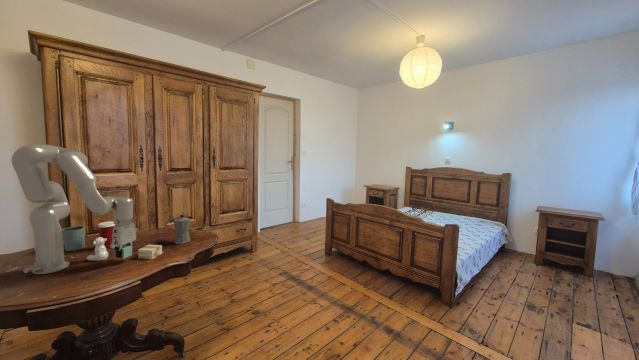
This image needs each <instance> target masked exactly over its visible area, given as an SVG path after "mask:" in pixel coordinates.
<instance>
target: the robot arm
mask: <svg viewBox="0 0 639 360" xmlns="http://www.w3.org/2000/svg"><path fill="white" fill-rule="evenodd" d="M10 161H11V165H12V167H13V170H14V172H15V173H16V176H17V179H18V182H19V184H20V187H21V189H22V192H23V194H24V195H23V196H25V197H24V198H25V199H26V200H27V201H28V202H29V203H32V204H33V203H34V204H40V203H42V205H40V206H36V208H34V209H33V210H32V211H31V212H30V213H29V217H28V218H29V223H30V226H31V228H32V234H33V241H34V249H35V250H34V251H35V253H34V254H35V261H36V262H34V263H33V265H32V266H30V267H28V268H25V269H23V270H22V271H23V273H24V274H28V273H32V274H34V275H45V274H46V275H47V274H52V273H57V272H60V271H62V270H64V269H66V268H68V267H70V262H69V261H67V260H66V259H65V246H64V241H63V235H62V229H63V228H62V226H61V224H60V222H59V221H62V220H63V219H65V218H67V217H68V216H69V215H70V213H71V207H70V204H69V202H68V198H67V196H66V193H65V191H64V188H63V187H62V185H61V184H60V183H58V182H56V181H54V180H48V179H47V177H46V175H45V172H44V170H43V169H42V167H40V165H39V164H41V163H52V164H57V165H58V166H59V167H60V168H61V170H62V171H63V172H64V173H65V175H67V177H68V178H69V180H71V182H72V183H73V184H74V185H75V186H76V190H77V193H78V195H79V198H80V199H81V202H82V203H83V204H84V205H85V206H86V207H87V209H89V210H90V211H91V212H92V213H93V214H95V215H97V216H98V215H99V216H102V215H105V214H108V213H110V212H113V211H114V221H113V222H114V224H115V225H114V228H113V235H112V243H111V245H110V247H111V249H113V250H114V251H115V250H116V257H115V258H119V259H123V258H122V250H121V248H122V245H129V246H132V247H133V246H134V243H135V241H136V240H137V231H136V224H135V222H134V200H133V198H131V197H116V196H115V197H114V196H105V197H103V196H102V194H100V192H99V191H98V189H97V185H96V183H97V176H96V175H95V173H94V172H92V170H91V169H90V168H89V167H88V162H89V159H88V156H86V154H84V153H83V152H81V151H77V150H72V149H69V148H65V147H62V146H57V145H52V144H40V143H39V144H37V143H36V144H34V143H33V144H27V145H23V146H20V147H19V148H18V149H16V150H15V151H14V152H13V154H12V155H11V160H10ZM65 260H66V261H65Z"/></svg>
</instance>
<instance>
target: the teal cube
mask: <svg viewBox="0 0 639 360" xmlns="http://www.w3.org/2000/svg"><path fill="white" fill-rule="evenodd" d="M121 250H122V258H121V259H127V258H129V257H131V256H133V246H129V245H126V244H124V245H122V248H121ZM114 251H115V253H114V254H115V256H114V257H115V258H117V257H116V250H114Z"/></svg>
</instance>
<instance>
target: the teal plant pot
mask: <svg viewBox="0 0 639 360" xmlns="http://www.w3.org/2000/svg"><path fill="white" fill-rule="evenodd" d="M61 229H62V235H63V247H64V251H66V252H71V251H72V252H73V251H78V250H81V249H84V248H85V247H86V242H85V240H86V239H85V237H86V235H85V232H86V227H85V226H84V225H75V226H70V227H69V226H68V227H65V228H61Z"/></svg>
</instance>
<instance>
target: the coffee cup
mask: <svg viewBox="0 0 639 360" xmlns="http://www.w3.org/2000/svg"><path fill="white" fill-rule="evenodd" d="M114 222H115V221H103V222H102V221H101V222H99V223H98V225H97V228H98V234H99V238H100V237H101V238H103V239H105V238H107V240H106V241H105V243H104V246H105V247H106V250H110V249H112V248H111V247H110V245H111V243H112V235H113V228H114V225H115V224H114Z"/></svg>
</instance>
